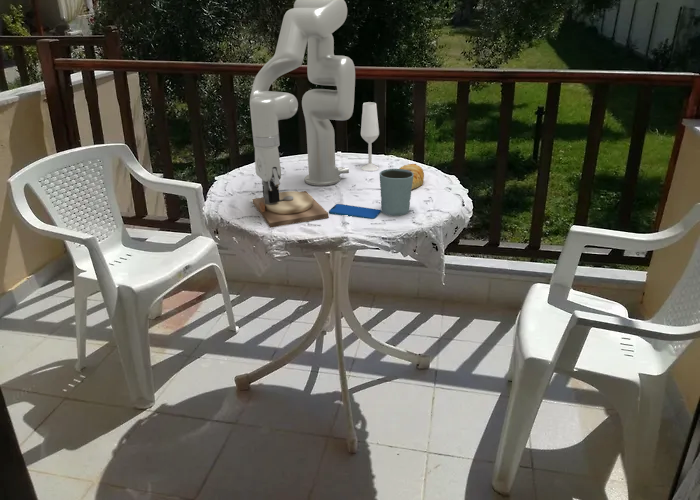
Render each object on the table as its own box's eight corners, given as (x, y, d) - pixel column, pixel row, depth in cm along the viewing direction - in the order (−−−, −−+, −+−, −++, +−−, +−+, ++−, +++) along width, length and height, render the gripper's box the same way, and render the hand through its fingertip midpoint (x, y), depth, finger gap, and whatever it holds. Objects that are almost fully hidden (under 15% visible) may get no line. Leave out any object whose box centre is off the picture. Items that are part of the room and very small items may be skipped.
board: (306, 195, 196) (305, 185, 195) (328, 217, 178) (328, 207, 176) (252, 203, 190) (251, 193, 189) (270, 227, 172) (269, 216, 170)
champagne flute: (360, 166, 224) (359, 102, 214) (377, 165, 225) (377, 101, 215) (362, 171, 218) (361, 105, 208) (380, 170, 219) (380, 105, 209)
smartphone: (374, 218, 176) (327, 211, 180) (374, 221, 176) (327, 214, 181) (382, 209, 182) (336, 203, 187) (381, 212, 182) (336, 206, 187)
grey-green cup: (373, 208, 184) (373, 171, 179) (400, 202, 188) (401, 166, 183) (391, 219, 176) (391, 180, 171) (419, 212, 180) (420, 174, 175)
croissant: (411, 204, 197) (422, 184, 193) (385, 188, 197) (396, 169, 193) (422, 182, 215) (433, 164, 211) (398, 168, 215) (409, 150, 211)
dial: (303, 193, 192) (301, 167, 188) (320, 208, 180) (319, 181, 176) (258, 201, 187) (256, 174, 183) (273, 217, 174) (271, 188, 170)
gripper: (244, 136, 177) (250, 193, 185) (264, 149, 164) (269, 210, 172) (268, 132, 180) (273, 189, 188) (289, 145, 167) (293, 206, 175)
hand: (271, 199), depth 180 cm, fingers closed on dial, 4 cm apart
